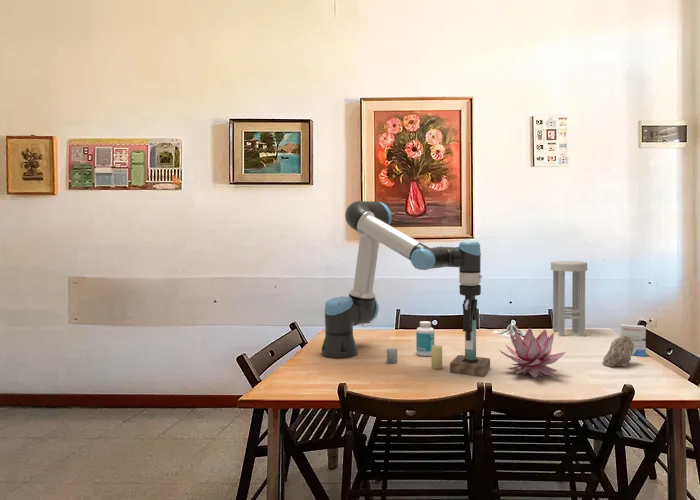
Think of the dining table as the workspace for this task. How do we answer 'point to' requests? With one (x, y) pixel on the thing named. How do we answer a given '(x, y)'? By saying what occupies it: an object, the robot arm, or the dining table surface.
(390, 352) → the short pin
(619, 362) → the rock
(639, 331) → the ink box
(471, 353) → the long pin
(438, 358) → the medium pin
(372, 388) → the dining table surface
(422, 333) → the pill bottle
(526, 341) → the decorative flower
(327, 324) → the robot arm
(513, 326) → the cloth
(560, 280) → the stool
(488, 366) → the socket block
